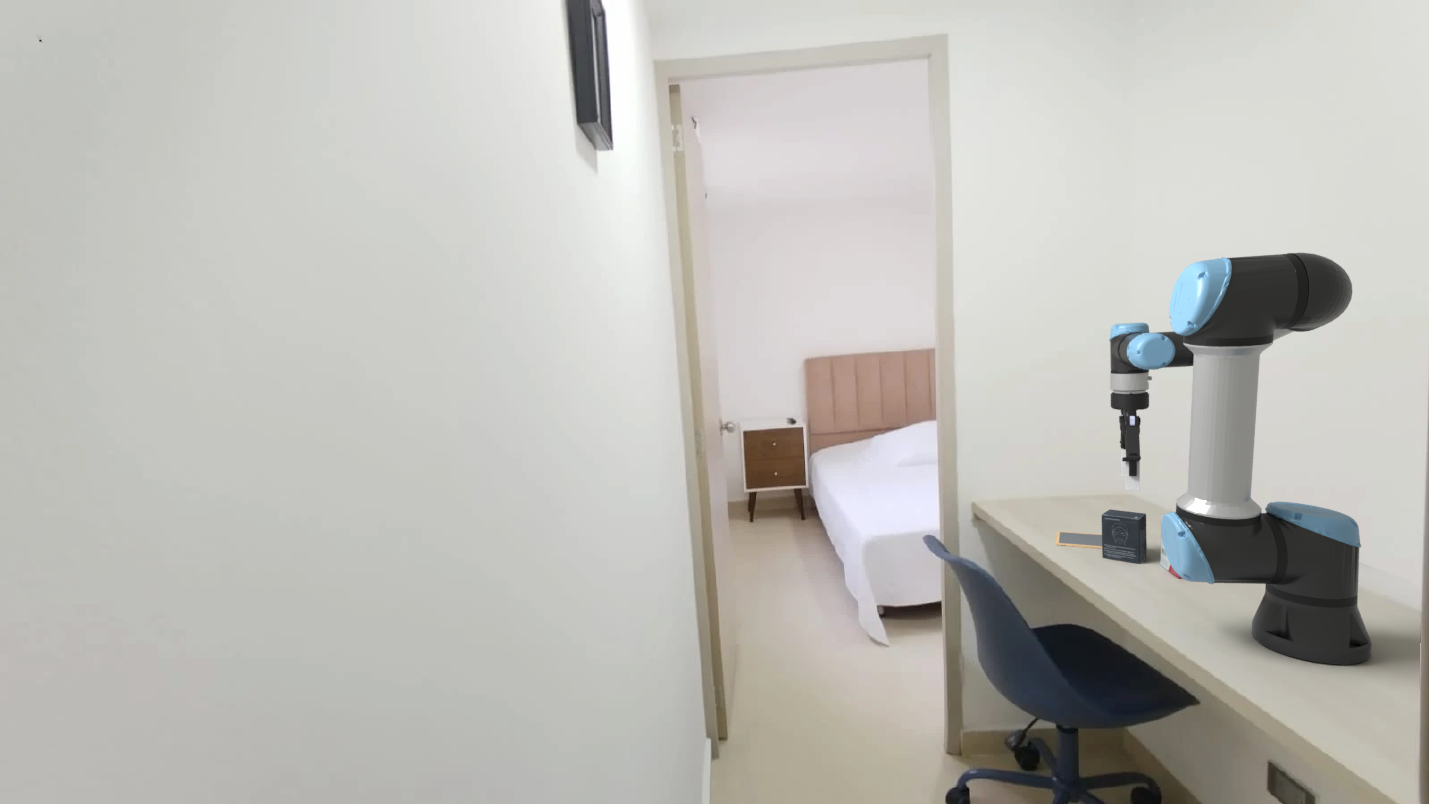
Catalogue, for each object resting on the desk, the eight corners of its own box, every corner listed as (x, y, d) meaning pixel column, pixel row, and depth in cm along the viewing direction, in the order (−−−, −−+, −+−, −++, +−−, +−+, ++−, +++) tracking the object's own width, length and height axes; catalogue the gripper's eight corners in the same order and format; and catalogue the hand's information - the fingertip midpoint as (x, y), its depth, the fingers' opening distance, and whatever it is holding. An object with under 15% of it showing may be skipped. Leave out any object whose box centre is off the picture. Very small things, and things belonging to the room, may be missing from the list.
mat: (1106, 549, 168) (1106, 547, 168) (1055, 545, 173) (1055, 543, 173) (1105, 535, 177) (1105, 534, 177) (1057, 532, 183) (1057, 531, 183)
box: (1147, 557, 160) (1146, 513, 159) (1139, 564, 157) (1139, 518, 155) (1109, 551, 166) (1109, 508, 165) (1101, 558, 162) (1101, 513, 161)
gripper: (1155, 397, 145) (1155, 497, 147) (1143, 385, 167) (1143, 472, 169) (1114, 398, 148) (1114, 495, 151) (1107, 386, 171) (1108, 470, 173)
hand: (1129, 483), depth 160 cm, fingers open, 13 cm apart
